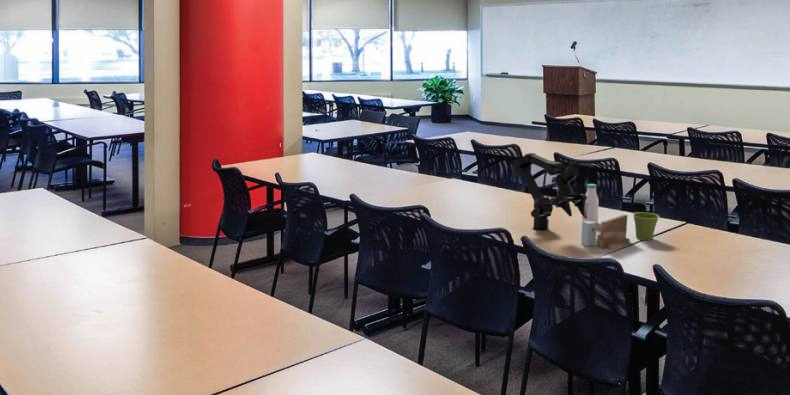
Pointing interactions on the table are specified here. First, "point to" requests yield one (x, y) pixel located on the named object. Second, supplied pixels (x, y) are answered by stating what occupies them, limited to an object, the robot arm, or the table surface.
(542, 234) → the table surface
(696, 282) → the table surface
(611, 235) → the brown angular stand
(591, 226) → the pale blue beveled prism
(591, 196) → the milk bottle
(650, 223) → the plant pot
